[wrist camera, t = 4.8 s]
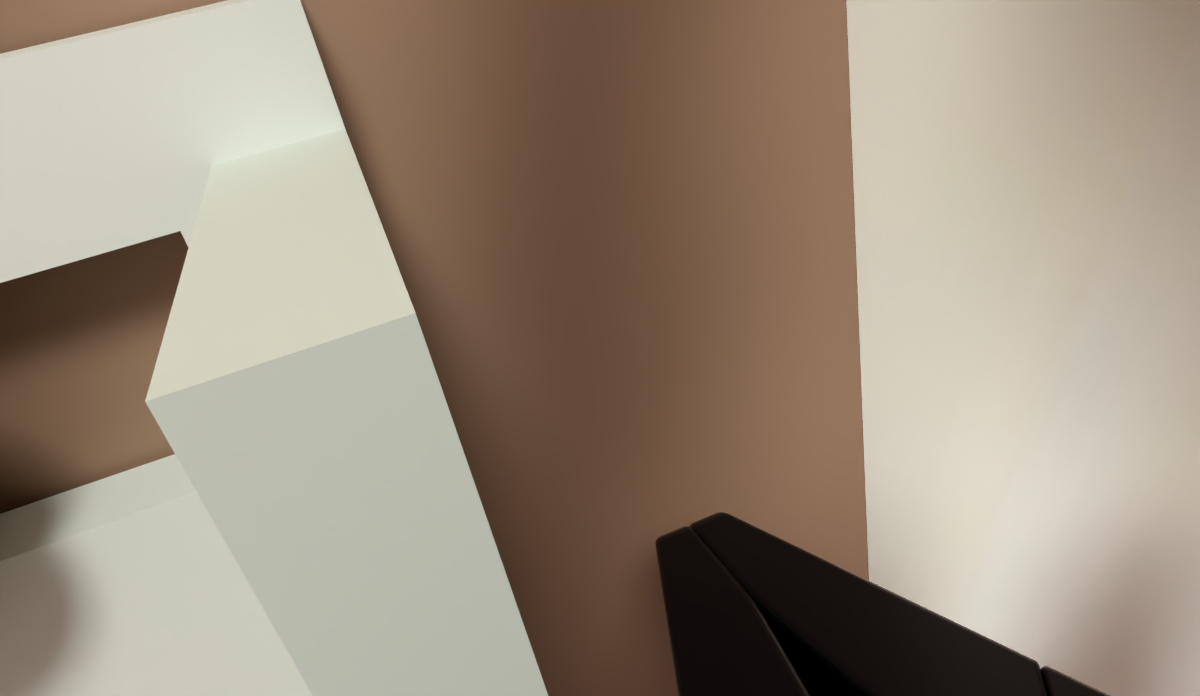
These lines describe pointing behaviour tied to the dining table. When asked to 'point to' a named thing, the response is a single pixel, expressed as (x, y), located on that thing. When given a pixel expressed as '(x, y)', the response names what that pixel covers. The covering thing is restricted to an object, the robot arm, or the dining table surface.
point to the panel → (242, 392)
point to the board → (546, 288)
